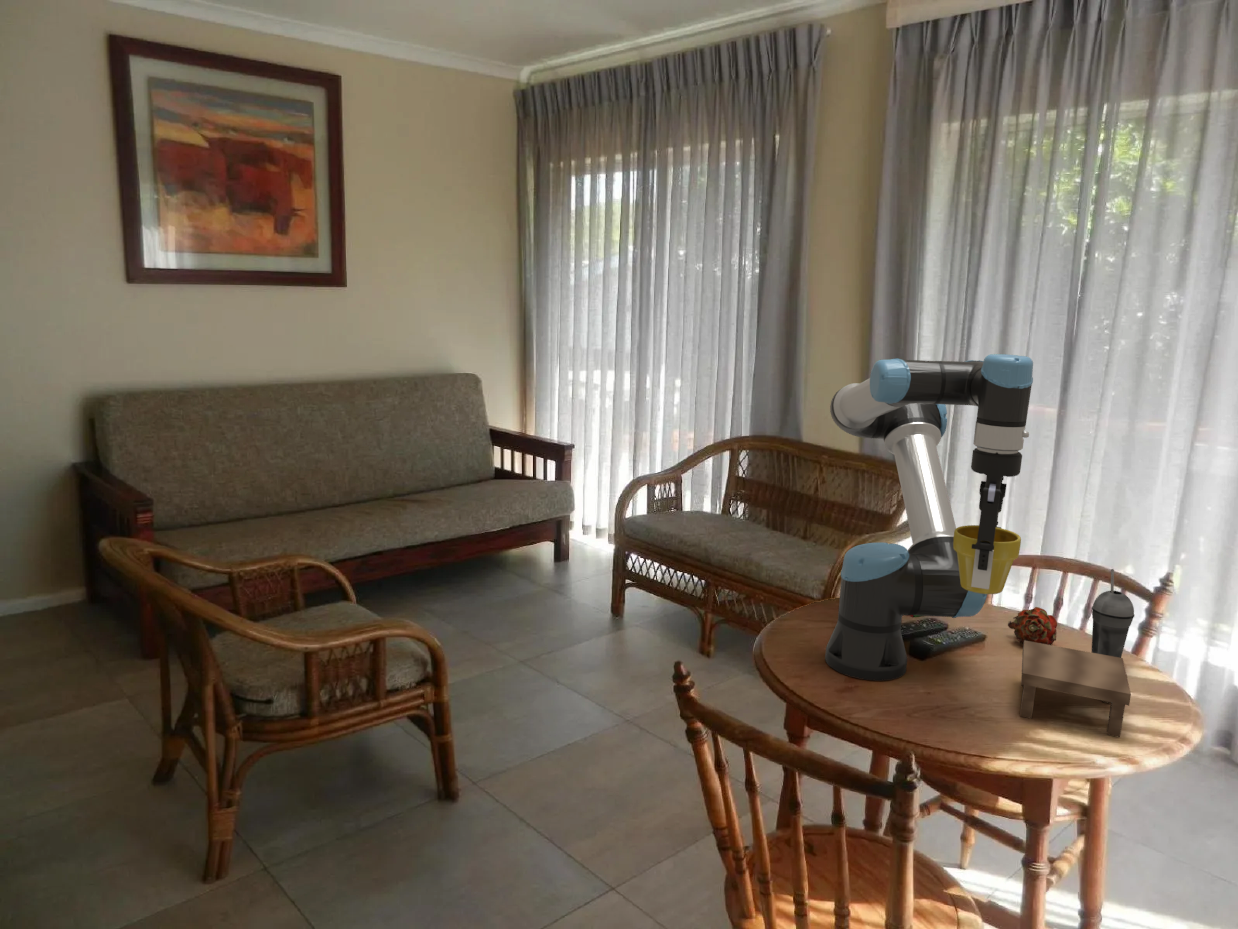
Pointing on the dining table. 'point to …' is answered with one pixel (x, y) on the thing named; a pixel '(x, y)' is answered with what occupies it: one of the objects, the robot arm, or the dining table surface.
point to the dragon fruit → (1034, 626)
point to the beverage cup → (1111, 621)
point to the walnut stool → (1075, 678)
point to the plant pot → (1002, 556)
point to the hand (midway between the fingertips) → (982, 577)
